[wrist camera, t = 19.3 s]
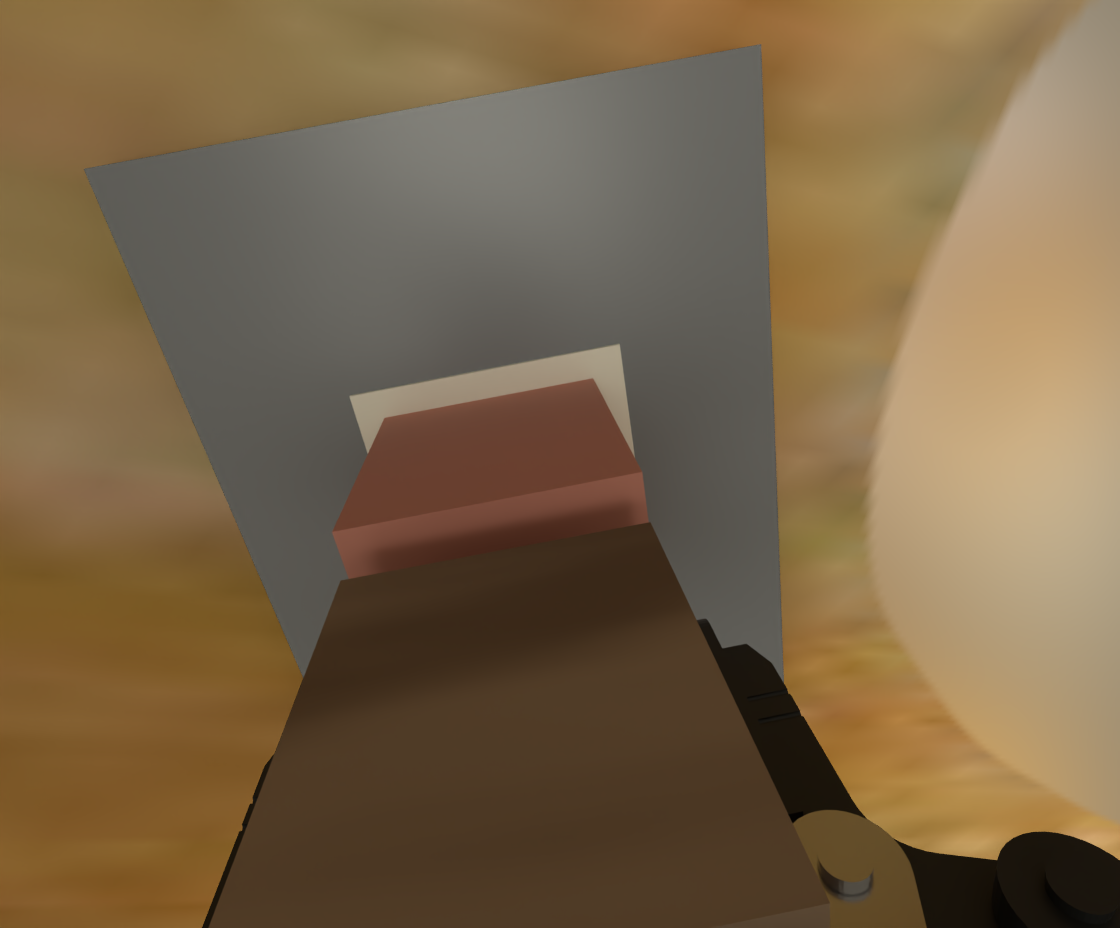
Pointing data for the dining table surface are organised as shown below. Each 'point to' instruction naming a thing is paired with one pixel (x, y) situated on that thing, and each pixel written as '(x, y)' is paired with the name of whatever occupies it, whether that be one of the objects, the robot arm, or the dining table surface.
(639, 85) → the grey flat rectangular panel
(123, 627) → the dining table surface
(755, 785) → the walnut block
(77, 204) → the dining table surface
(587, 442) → the red block
